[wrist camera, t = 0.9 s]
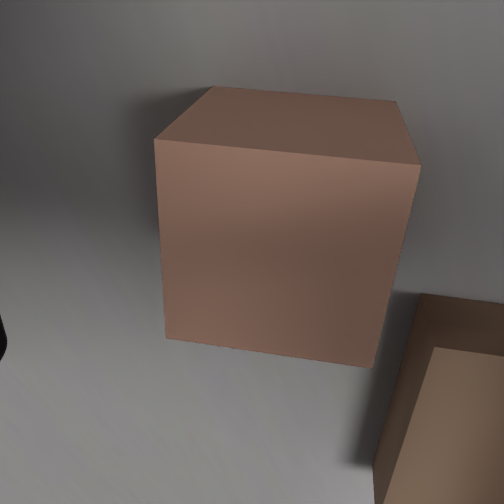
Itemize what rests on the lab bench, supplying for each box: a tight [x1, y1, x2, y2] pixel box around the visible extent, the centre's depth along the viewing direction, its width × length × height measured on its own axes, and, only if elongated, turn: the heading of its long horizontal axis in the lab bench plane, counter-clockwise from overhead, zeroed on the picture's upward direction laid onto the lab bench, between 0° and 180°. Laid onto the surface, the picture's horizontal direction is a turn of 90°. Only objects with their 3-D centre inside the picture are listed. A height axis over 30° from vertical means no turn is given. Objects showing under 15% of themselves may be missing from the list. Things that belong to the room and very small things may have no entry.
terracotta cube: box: [154, 86, 422, 369], centre depth 12 cm, size 5×5×5 cm
